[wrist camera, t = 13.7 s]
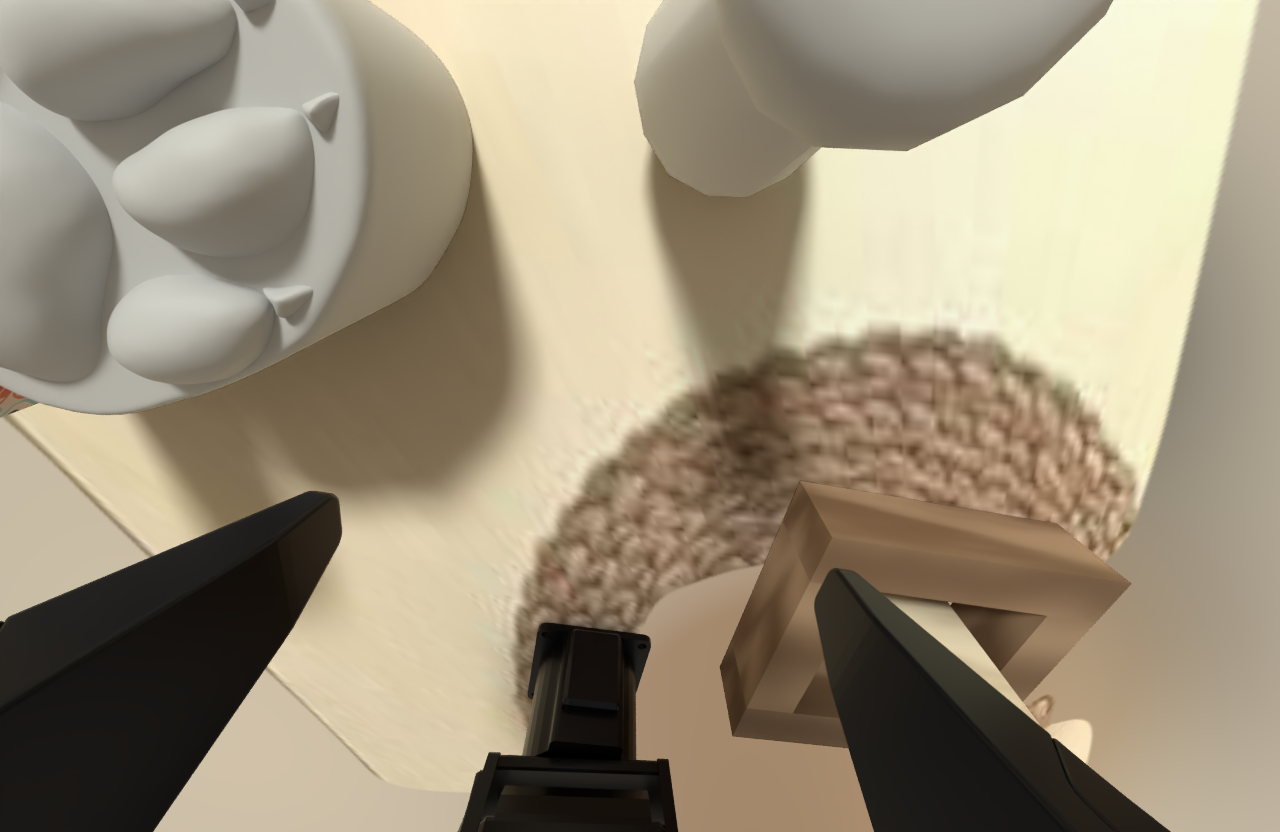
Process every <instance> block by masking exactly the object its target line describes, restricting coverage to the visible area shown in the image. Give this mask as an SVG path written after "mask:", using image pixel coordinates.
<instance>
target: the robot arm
mask: <svg viewBox="0 0 1280 832" xmlns="http://www.w3.org/2000/svg"><path fill="white" fill-rule="evenodd" d="M341 536H342V524H341V514H340V504H339V499H338V497H337V496H336V495H334V494H332V493H325V492H319V491H308V492H305V493H303V494H300V495H298V496H295V497H293V498H291V499H288V500H286V501H284V502H281V503H279V504H276V505H274V506H272V507H269V508H267V509H264V510H262V511H260V512H257V513H255V514H253V515H250V516H248V517H245V518H243V519H241V520H238V521H236V522H233V523H231V524H229V525H226V526H224V527H222V528H219V529H217V530H214V531H212V532H210V533H207V534H205V535H202V536H200V537H198V538H195V539H193V540H191V541H188V542H186V543H183V544H181V545H179V546H176V547H174V548H171V549H169V550H167V551H164V552H162V553H160V554H157V555H155V556H152V557H150V558H148V559H145V560H143V561H140V562H138V563H136V564H133V565H131V566H128V567H126V568H124V569H121V570H119V571H117V572H114V573H112V574H109V575H107V576H105V577H102V578H100V579H97V580H95V581H93V582H90V583H88V584H85V585H83V586H81V587H78V588H76V589H74V590H71V591H69V592H67V593H64V594H62V595H59V596H57V597H54V598H52V599H50V600H47V601H45V602H43V603H40V604H38V605H35V606H33V607H31V608H28V609H26V610H23V611H21V612H19V613H16V614H14V615H12V616H10V617H8V618H7V619H6V620H5V622H3V621H0V832H153V831H154V830H155V828H156V827H157V825H158V824H159V822H160V821H161V820H162V818H163V816H164V815H165V814H166V812H167V811H168V809H169V808H170V806H171V805H172V803H173V802H174V800H175V799H176V798H177V796H178V795H179V793H180V792H181V790H182V789H183V788H184V786H185V785H186V783H187V782H188V780H189V779H190V777H191V776H192V774H193V773H194V772H195V770H196V769H197V767H198V766H199V764H200V763H201V761H202V760H203V758H204V757H205V756H206V754H207V753H208V751H209V750H210V748H211V747H212V745H213V744H214V742H215V741H216V739H217V738H218V737H219V735H220V734H221V732H222V731H223V729H224V728H225V726H226V725H227V724H228V722H229V721H230V719H231V718H232V716H233V715H234V713H235V712H236V710H237V709H238V708H239V706H240V705H241V703H242V702H243V700H244V699H245V697H246V696H247V694H248V693H249V692H250V690H251V689H252V687H253V686H254V684H255V683H256V681H257V680H258V679H259V677H260V676H261V674H262V673H263V671H264V670H265V668H266V667H267V665H268V664H269V663H270V661H271V660H272V658H273V657H274V655H275V654H276V652H277V651H278V649H279V648H280V647H281V645H282V644H283V642H284V641H285V639H286V638H287V636H288V635H289V633H290V632H291V630H292V628H293V627H294V625H295V623H296V622H297V620H298V618H299V617H300V615H301V613H302V611H303V609H304V608H305V606H306V604H307V602H308V600H309V598H310V597H311V595H312V593H313V591H314V589H315V587H316V586H317V584H318V582H319V580H320V578H321V576H322V575H323V573H324V571H325V569H326V567H327V565H328V564H329V562H330V560H331V558H332V556H333V554H334V553H335V551H336V549H337V547H338V545H339V543H340V540H341ZM814 611H815V616H816V621H817V626H818V631H819V636H820V641H821V646H822V650H823V655H824V660H825V665H826V670H827V675H828V679H829V684H830V688H831V692H832V695H833V699H834V702H835V706H836V709H837V712H838V716H839V719H840V722H841V725H842V729H843V732H844V735H845V738H846V742H847V745H848V748H849V751H850V755H851V758H852V761H853V764H854V768H855V771H856V774H857V777H858V781H859V783H860V787H861V790H862V793H863V797H864V800H865V803H866V807H867V810H868V813H869V817H870V820H871V823H872V826H873V830H874V832H1170V831H1169V830H1168V829H1167V828H1165V827H1164V826H1163V825H1161V824H1160V823H1159V822H1157V821H1156V820H1155V819H1154V818H1153V817H1151V816H1150V815H1149V814H1147V813H1146V812H1145V811H1143V810H1142V809H1141V808H1140V807H1138V806H1137V805H1136V804H1135V803H1133V802H1132V801H1131V800H1129V799H1128V798H1127V797H1126V796H1124V795H1123V794H1122V793H1121V792H1119V791H1118V790H1117V789H1116V788H1115V787H1113V786H1112V785H1111V784H1110V783H1109V782H1107V781H1106V780H1105V779H1104V778H1102V777H1101V776H1100V775H1099V774H1097V773H1096V772H1095V771H1094V770H1093V769H1091V768H1090V767H1089V766H1088V765H1087V764H1085V763H1084V762H1083V761H1082V760H1080V759H1079V758H1078V757H1077V756H1076V755H1075V754H1073V753H1072V752H1071V751H1070V750H1069V749H1067V748H1066V747H1065V746H1064V745H1063V744H1061V743H1060V742H1059V741H1058V740H1057V739H1054V738H1051V735H1050V734H1049V733H1048V732H1047V731H1046V730H1045V729H1043V728H1042V727H1041V726H1040V725H1039V724H1037V723H1036V722H1035V721H1034V720H1033V719H1031V718H1030V717H1029V716H1028V715H1027V714H1025V713H1024V712H1023V711H1022V710H1021V709H1019V708H1018V707H1017V706H1016V705H1015V704H1013V703H1012V702H1011V701H1010V700H1009V699H1007V698H1006V697H1005V696H1004V695H1003V694H1001V693H1000V692H999V691H998V690H997V689H995V688H994V687H993V686H992V685H991V684H989V683H988V682H987V681H986V680H985V679H983V678H982V677H981V676H980V675H979V674H977V673H976V672H975V671H974V670H973V669H971V668H970V667H969V666H968V665H967V664H965V663H964V662H963V661H962V660H961V659H960V658H958V657H957V656H956V655H955V654H954V653H952V652H951V651H950V650H949V649H948V648H946V647H945V646H944V645H943V644H942V643H940V642H939V641H938V640H937V639H936V638H934V637H933V636H932V635H931V634H930V633H928V632H927V631H926V630H925V629H924V628H922V627H921V626H920V625H919V624H918V623H916V622H915V621H914V620H913V619H912V618H910V617H909V616H908V615H907V614H906V613H904V612H903V611H902V610H901V609H900V608H898V607H897V606H896V605H895V604H894V603H892V602H891V601H890V600H889V599H888V598H886V597H885V596H884V595H883V594H882V593H880V592H879V591H878V590H877V589H876V588H875V587H873V586H872V585H871V584H870V583H869V582H867V581H866V580H865V579H864V578H863V577H861V576H860V575H859V574H858V573H856V572H855V571H853V570H848V569H842V568H832V569H831V570H830V571H829V572H828V574H827V575H826V577H825V579H824V581H823V583H822V585H821V587H820V589H819V591H818V593H817V595H816V597H815V601H814ZM650 648H651V641H650V638H649V637H648V636H647V635H643V634H635V633H627V632H619V631H611V630H603V629H595V628H587V627H579V626H571V625H563V624H555V623H542V624H541V625H539V628H538V632H537V638H536V645H535V651H534V658H533V664H532V670H531V677H530V683H529V689H528V697H529V698H531V699H533V701H532V707H531V712H530V717H529V722H528V728H527V733H526V738H525V744H524V749H523V754H522V756H518V755H501V753H500V752H489V754H488V756H487V760H486V763H485V766H484V769H483V770H480V772H478V773H476V776H475V780H474V784H473V787H472V791H471V795H470V799H469V802H468V806H467V810H466V812H465V815H464V818H463V821H462V823H461V826H460V828H459V830H458V832H678V828H677V820H676V812H675V805H674V797H673V790H672V783H671V775H670V768H669V761H668V759H657V761H647V760H636V701H635V700H636V691H637V688H638V685H639V682H640V679H641V676H642V673H643V670H644V667H645V663H646V660H647V657H648V654H649V651H650Z"/></svg>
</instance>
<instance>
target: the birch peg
mask: <svg viewBox="0 0 1280 832" xmlns="http://www.w3.org/2000/svg"><path fill="white" fill-rule="evenodd" d="M880 593H882V594H883V595H884V596H885V597H886V598H888V599H889V600H890V601H891V602H892V603H894V604H895V605H896V606H897V607H898V608H900V609H901V610H902V611H903V612H904V613H906V614H907V615H908V616H909V617H910V618H912V619H913V620H914V621H915V622H916V623H918V624H919V625H920V626H921V627H922V628H924V629H925V630H926V631H927V632H928V633H930V634H931V635H932V636H933V637H934V638H936V639H937V640H938V641H939V642H940V643H942V644H943V645H944V646H945V647H946V648H948V649H949V650H950V651H951V652H952V653H954V654H955V655H956V656H957V657H958V658H960V659H961V660H962V661H963V662H964V663H965V664H967V665H968V666H969V667H970V668H971V669H973V670H974V671H975V672H976V673H977V674H979V675H980V676H981V677H982V678H983V679H985V680H986V681H987V682H988V683H989V684H991V685H992V686H993V687H994V688H995V689H997V690H998V691H999V692H1000V693H1001V694H1003V695H1004V696H1005V697H1006V698H1007V699H1009V700H1010V701H1011V702H1012V703H1013V704H1015V705H1016V706H1017V707H1018V708H1019V709H1021V710H1022V711H1023V712H1024V713H1025V714H1027V715H1028V716H1029V717H1030V718H1031V719H1033V720H1034V721H1035V722H1036V723H1037V724H1039V723H1038V722H1037V721H1036V719H1035V718H1034V717H1033V715H1032V714H1031V713H1030V711H1029V710H1028V709H1027V707H1026V706H1025V705H1024V703H1023V702H1022V701H1021V699H1020V698H1019V697H1018V695H1017V694H1016V693H1015V691H1014V690H1013V689H1012V687H1011V686H1010V685H1009V683H1008V682H1007V681H1006V679H1005V678H1004V677H1003V675H1002V674H1001V673H1000V671H999V670H998V669H997V667H996V666H995V665H994V663H993V662H992V661H991V659H990V658H989V657H988V655H987V654H986V653H985V651H984V650H983V649H982V647H981V646H980V645H979V643H978V642H977V641H976V639H975V638H974V637H973V635H972V634H971V633H970V631H969V630H968V629H967V627H966V626H965V625H964V623H963V622H962V621H961V619H960V618H959V617H958V615H957V614H956V613H955V611H954V610H953V609H952V607H951V606H950V605H949V603H948V602H947V601H940V600H933V599H926V598H919V597H912V596H905V595H898V594H891V593H884V592H880Z"/></svg>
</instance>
